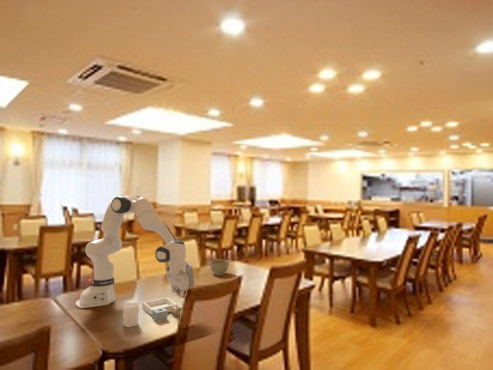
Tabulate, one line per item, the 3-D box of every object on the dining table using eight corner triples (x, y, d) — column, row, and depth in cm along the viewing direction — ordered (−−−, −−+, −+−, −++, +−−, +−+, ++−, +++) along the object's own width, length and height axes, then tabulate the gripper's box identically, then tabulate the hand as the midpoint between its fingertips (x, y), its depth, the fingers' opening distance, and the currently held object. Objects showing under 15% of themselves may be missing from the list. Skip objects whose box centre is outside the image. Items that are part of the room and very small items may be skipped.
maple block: (174, 317, 176) (175, 308, 176) (171, 314, 180) (171, 306, 180) (182, 315, 179) (182, 307, 179) (178, 312, 183) (178, 304, 183)
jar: (183, 295, 214) (184, 257, 214) (165, 292, 219) (165, 255, 220) (197, 287, 231) (198, 252, 232) (180, 284, 237) (181, 250, 237)
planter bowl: (232, 273, 270) (232, 260, 271) (221, 277, 257) (221, 264, 257) (217, 270, 279) (217, 258, 279) (205, 274, 265) (205, 261, 265)
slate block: (156, 322, 169) (156, 312, 169) (152, 318, 174) (152, 309, 174) (167, 319, 173) (167, 310, 173) (162, 316, 177) (163, 307, 178)
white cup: (133, 320, 171) (133, 301, 171) (141, 324, 166) (141, 305, 166) (119, 325, 165) (119, 305, 165) (127, 329, 160) (128, 309, 160)
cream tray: (152, 316, 177) (152, 310, 177) (142, 308, 189) (142, 302, 189) (177, 310, 186) (177, 304, 186) (166, 303, 198) (166, 297, 198)
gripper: (191, 272, 174) (191, 297, 173) (175, 265, 190) (175, 288, 189) (181, 273, 170) (180, 300, 169) (165, 266, 186) (165, 290, 186)
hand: (177, 294), depth 180 cm, fingers open, 8 cm apart
